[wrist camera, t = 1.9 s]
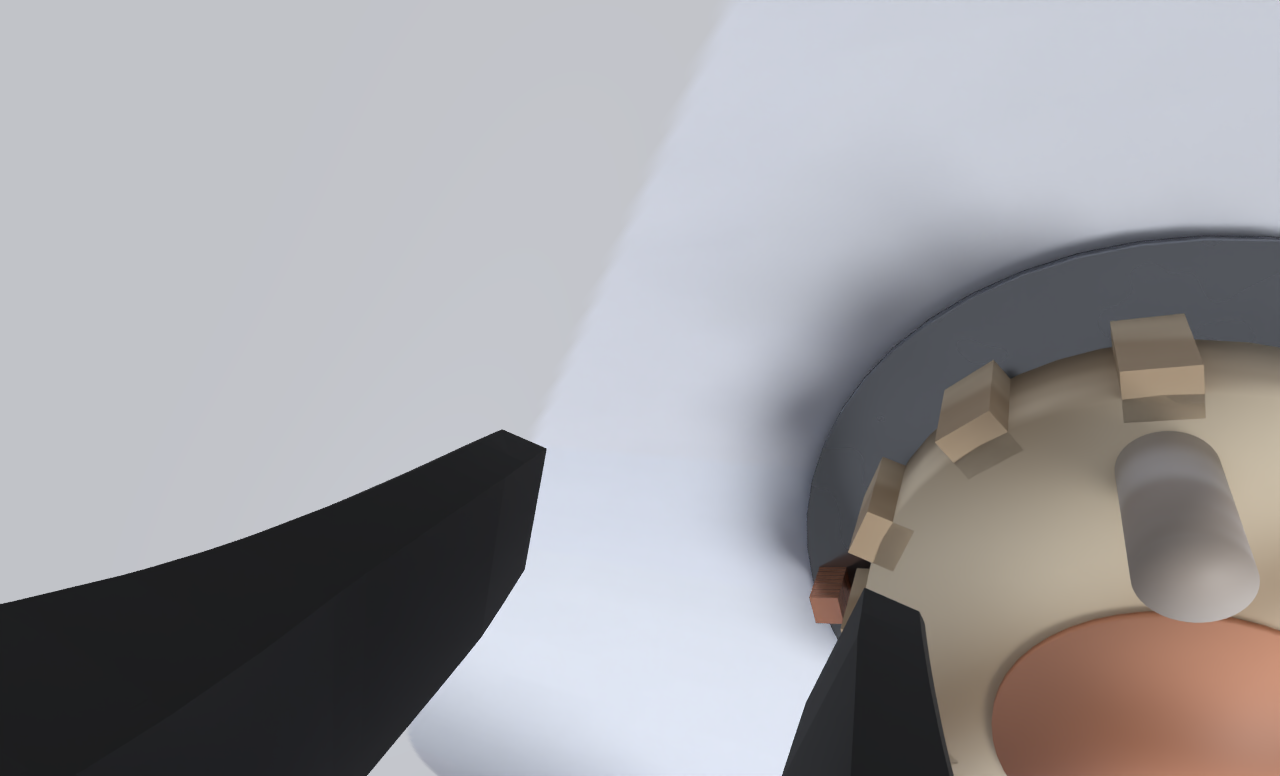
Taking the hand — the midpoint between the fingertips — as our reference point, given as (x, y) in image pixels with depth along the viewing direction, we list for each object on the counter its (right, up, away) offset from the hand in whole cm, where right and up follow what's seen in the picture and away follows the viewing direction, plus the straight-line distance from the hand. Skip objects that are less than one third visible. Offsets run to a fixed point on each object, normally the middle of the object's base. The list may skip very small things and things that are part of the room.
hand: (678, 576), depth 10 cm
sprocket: (+11, -2, +9) cm, 14 cm away
